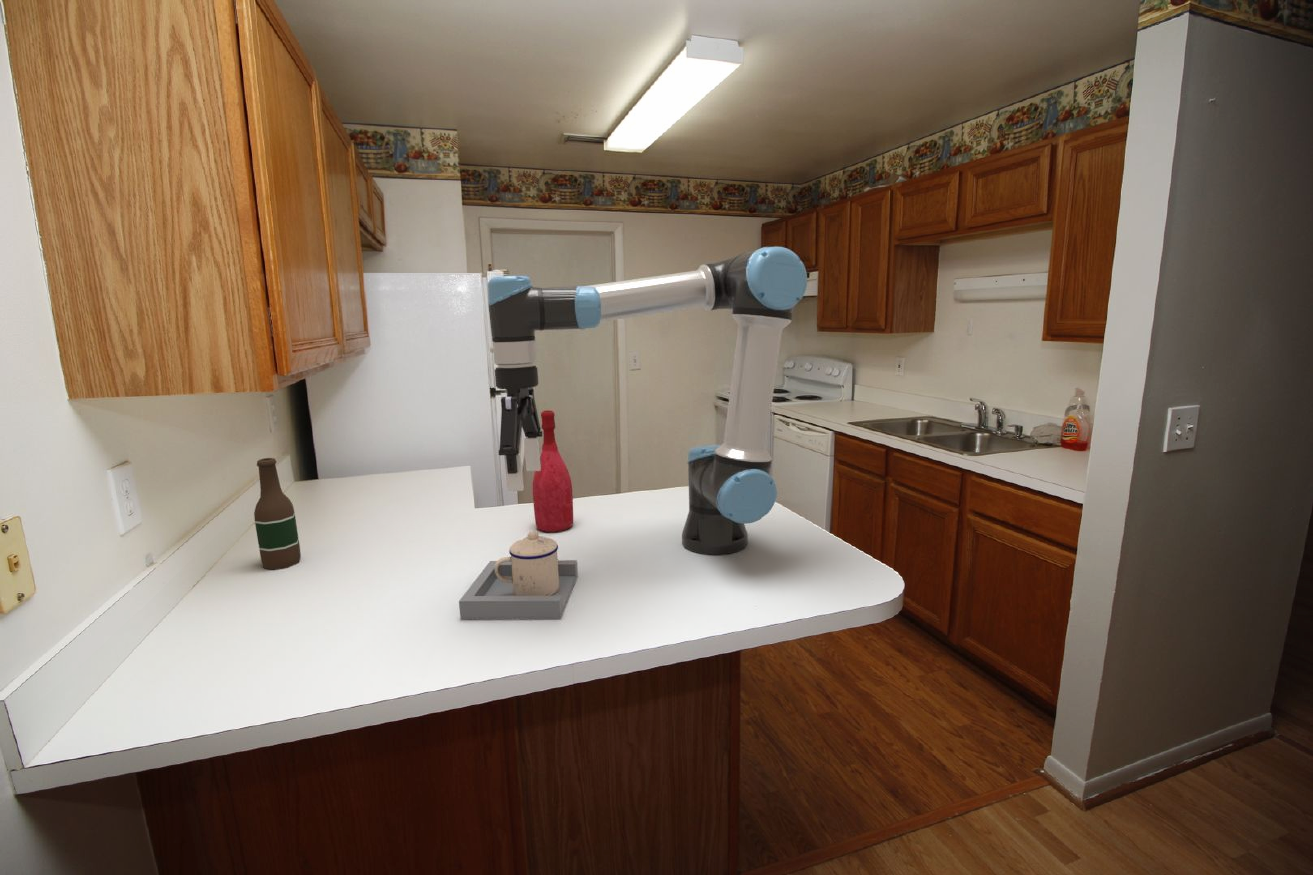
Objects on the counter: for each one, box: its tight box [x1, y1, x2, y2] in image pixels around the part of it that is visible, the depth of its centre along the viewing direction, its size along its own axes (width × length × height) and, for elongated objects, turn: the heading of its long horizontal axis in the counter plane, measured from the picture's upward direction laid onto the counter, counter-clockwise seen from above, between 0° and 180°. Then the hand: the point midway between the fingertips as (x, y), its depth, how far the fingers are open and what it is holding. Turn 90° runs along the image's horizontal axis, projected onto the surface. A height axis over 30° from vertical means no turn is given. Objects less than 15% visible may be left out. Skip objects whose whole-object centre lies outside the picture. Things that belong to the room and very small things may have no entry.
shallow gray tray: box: [458, 559, 579, 620], centre depth 117 cm, size 18×18×4 cm
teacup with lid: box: [495, 531, 559, 596], centre depth 116 cm, size 12×9×12 cm
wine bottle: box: [532, 410, 574, 533], centre depth 153 cm, size 10×10×30 cm
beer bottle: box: [253, 457, 302, 571], centre depth 134 cm, size 8×8×24 cm
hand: (525, 480), depth 114 cm, fingers open, 13 cm apart
